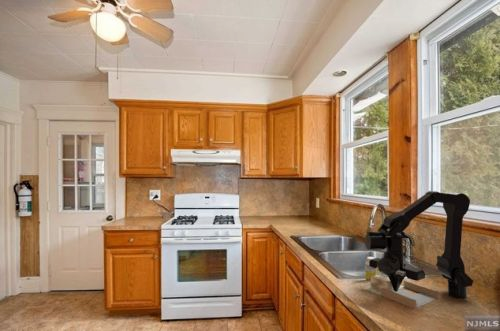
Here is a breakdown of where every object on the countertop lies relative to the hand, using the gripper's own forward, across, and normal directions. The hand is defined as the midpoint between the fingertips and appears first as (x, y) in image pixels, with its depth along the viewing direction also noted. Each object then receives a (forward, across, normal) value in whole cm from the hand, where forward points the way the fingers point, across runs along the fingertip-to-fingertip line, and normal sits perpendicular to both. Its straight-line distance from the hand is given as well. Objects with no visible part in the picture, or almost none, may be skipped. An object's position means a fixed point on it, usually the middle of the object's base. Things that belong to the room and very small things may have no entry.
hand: (395, 291), depth 101 cm
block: (+1, -5, 0) cm, 5 cm away
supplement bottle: (+2, -15, +7) cm, 16 cm away
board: (+2, 0, +2) cm, 3 cm away
